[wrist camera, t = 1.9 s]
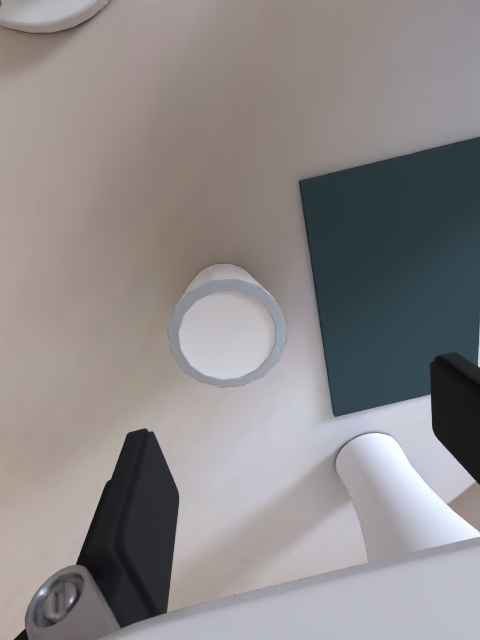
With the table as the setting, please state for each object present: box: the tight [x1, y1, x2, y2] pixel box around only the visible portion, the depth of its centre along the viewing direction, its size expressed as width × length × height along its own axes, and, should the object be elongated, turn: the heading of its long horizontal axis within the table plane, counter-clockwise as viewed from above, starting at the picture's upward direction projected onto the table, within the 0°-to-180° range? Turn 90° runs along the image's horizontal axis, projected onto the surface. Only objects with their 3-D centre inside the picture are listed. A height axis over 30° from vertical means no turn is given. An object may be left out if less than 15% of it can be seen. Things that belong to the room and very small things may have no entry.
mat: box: [299, 137, 480, 417], centre depth 27 cm, size 13×20×1 cm, turn 13°
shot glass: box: [168, 263, 286, 388], centre depth 23 cm, size 7×7×7 cm
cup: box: [335, 433, 480, 563], centre depth 27 cm, size 10×10×14 cm
